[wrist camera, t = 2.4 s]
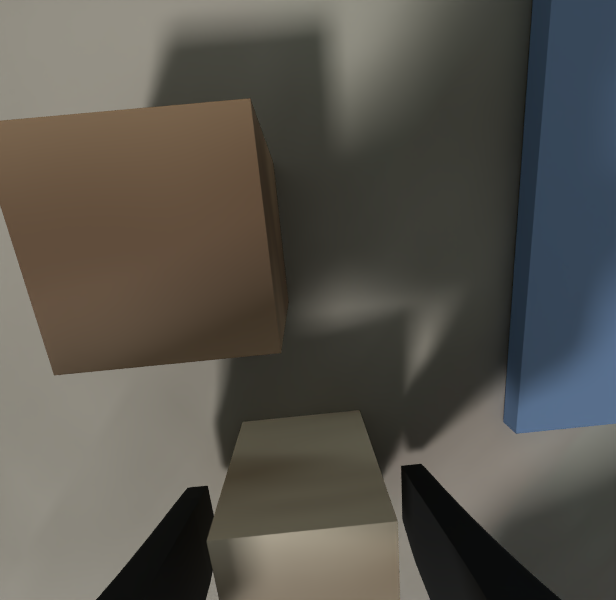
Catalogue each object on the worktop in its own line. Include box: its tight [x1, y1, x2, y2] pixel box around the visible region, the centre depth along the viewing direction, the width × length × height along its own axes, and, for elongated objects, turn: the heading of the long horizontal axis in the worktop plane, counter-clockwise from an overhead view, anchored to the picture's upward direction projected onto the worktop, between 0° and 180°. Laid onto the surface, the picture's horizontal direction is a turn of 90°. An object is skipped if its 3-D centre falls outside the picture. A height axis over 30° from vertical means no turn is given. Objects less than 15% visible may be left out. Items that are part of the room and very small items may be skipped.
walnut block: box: [0, 98, 289, 375], centre depth 7 cm, size 4×4×4 cm
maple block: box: [207, 410, 400, 600], centre depth 8 cm, size 4×4×4 cm
